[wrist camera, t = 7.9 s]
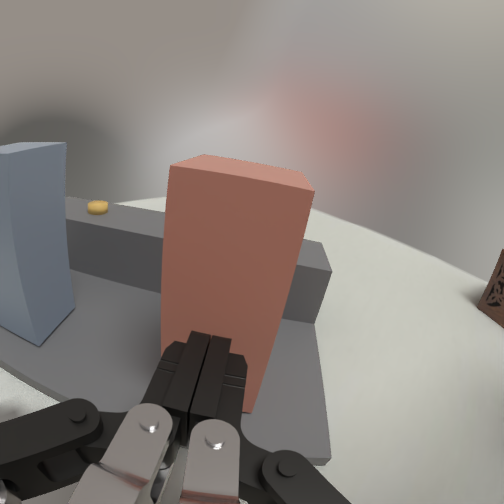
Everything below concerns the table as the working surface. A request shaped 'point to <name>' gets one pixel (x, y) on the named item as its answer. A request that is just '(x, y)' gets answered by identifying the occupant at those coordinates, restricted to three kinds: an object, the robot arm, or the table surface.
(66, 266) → the blue key
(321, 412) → the console
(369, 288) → the table surface
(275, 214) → the red key
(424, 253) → the table surface
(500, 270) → the tissue box cover
